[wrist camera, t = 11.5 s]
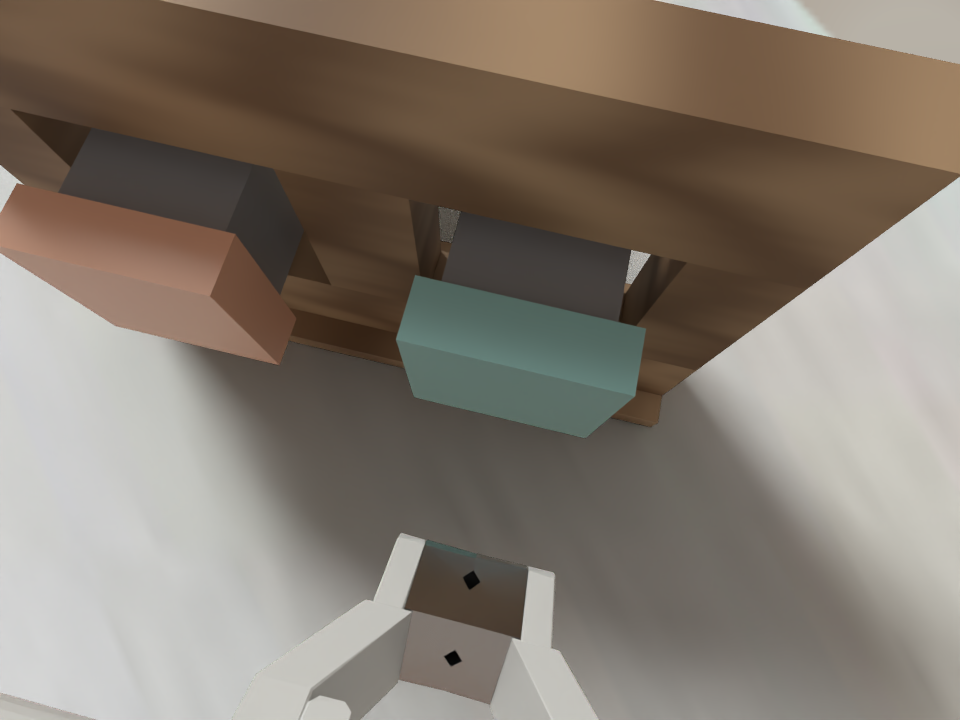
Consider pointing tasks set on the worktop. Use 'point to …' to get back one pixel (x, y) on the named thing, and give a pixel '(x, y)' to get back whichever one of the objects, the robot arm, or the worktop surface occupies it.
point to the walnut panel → (507, 142)
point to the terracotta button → (164, 243)
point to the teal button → (523, 328)
